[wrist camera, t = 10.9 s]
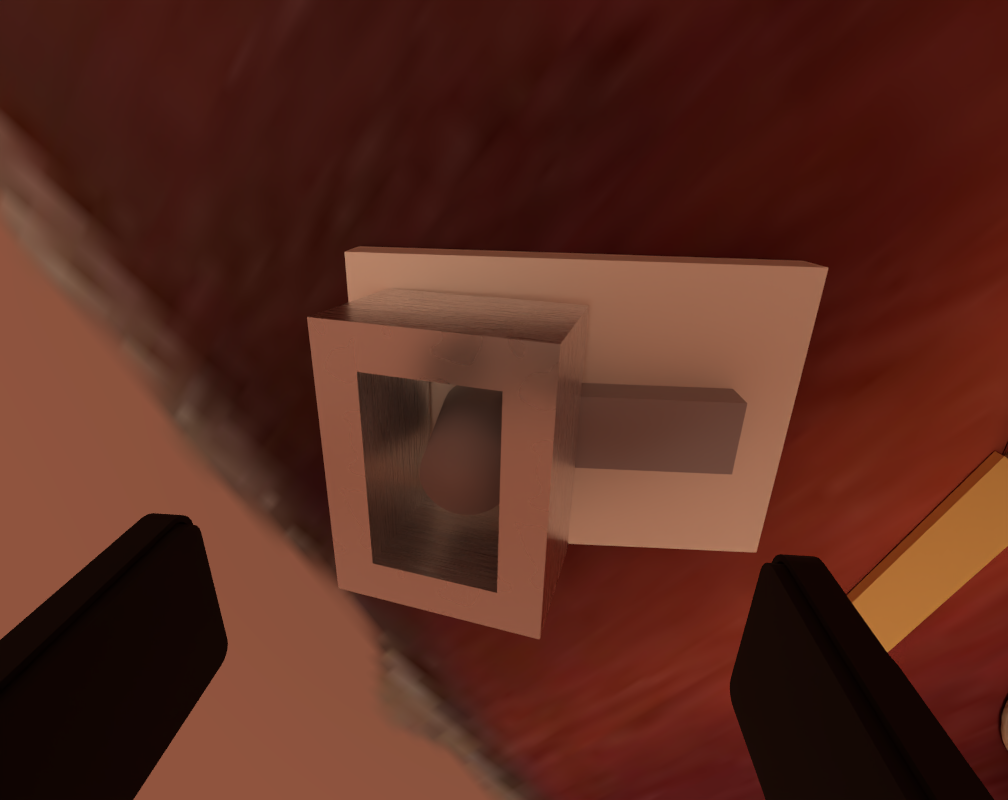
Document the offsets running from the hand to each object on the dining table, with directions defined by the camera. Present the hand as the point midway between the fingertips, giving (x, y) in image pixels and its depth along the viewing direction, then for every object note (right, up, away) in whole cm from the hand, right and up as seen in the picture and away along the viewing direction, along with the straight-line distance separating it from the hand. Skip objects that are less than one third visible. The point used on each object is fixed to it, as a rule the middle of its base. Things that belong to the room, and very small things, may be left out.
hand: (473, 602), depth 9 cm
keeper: (+3, +3, +10) cm, 11 cm away
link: (0, +3, +8) cm, 8 cm away
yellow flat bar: (+17, -3, +12) cm, 21 cm away
